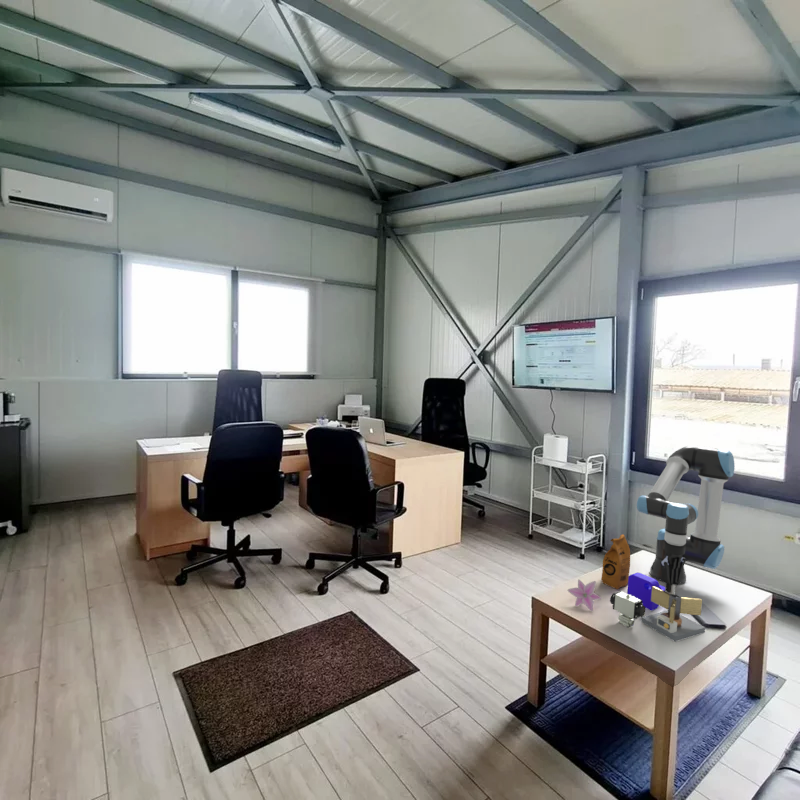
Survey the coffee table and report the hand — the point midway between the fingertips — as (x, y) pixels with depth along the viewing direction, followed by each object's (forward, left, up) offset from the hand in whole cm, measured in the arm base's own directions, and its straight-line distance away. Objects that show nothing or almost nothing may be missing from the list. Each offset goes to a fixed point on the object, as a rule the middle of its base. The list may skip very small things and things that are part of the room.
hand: (669, 599), depth 191 cm
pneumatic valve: (+22, -2, -7) cm, 23 cm away
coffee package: (-3, -29, -7) cm, 30 cm away
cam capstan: (+6, +4, -5) cm, 9 cm away
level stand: (+6, +6, -7) cm, 11 cm away
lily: (+26, -19, -7) cm, 33 cm away
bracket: (-5, -12, -7) cm, 15 cm away
